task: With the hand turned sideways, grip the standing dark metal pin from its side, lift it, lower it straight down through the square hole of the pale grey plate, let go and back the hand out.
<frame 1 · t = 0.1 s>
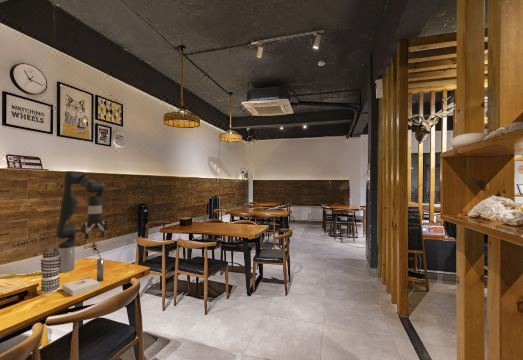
hand: (94, 238, 156), 29 cm above the table, fingers open, 8 cm apart
hole plate: (81, 288, 149), on the table
metal pin: (100, 280, 161), on the table
tiered tower model: (50, 290, 146), on the table
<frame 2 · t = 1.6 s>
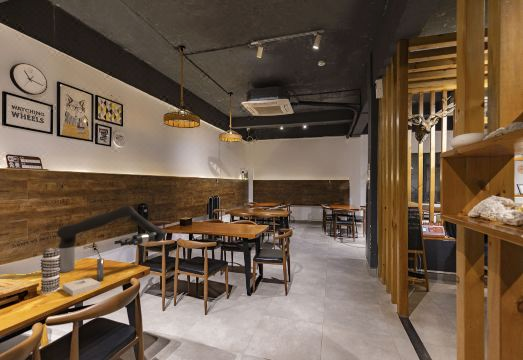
hand: (117, 243, 170), 22 cm above the table, fingers open, 8 cm apart
nothing on the table moved.
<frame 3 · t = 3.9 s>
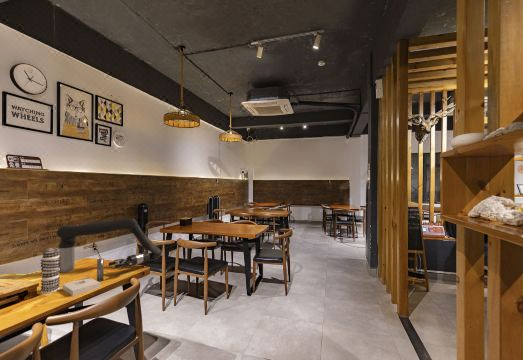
hand: (111, 265, 167), 8 cm above the table, fingers open, 8 cm apart
nothing on the table moved.
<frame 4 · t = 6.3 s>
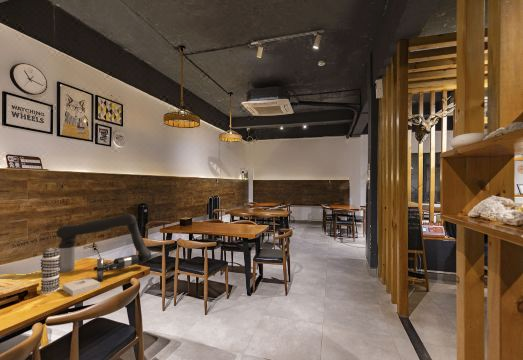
hand: (95, 269, 159), 8 cm above the table, fingers closed on metal pin, 3 cm apart
metal pin: (100, 280, 161), on the table, touching gripper
everything else where it was.
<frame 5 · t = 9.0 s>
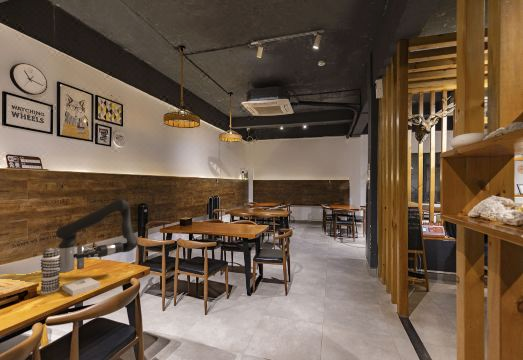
hand: (75, 256, 148), 20 cm above the table, fingers closed on metal pin, 3 cm apart
metal pin: (80, 268, 150), point 12 cm above the table, touching gripper
everything else where it was.
when the fingers open (9 cm above the table, at t = 11.6 s): metal pin drops 1 cm, resting in hole plate.
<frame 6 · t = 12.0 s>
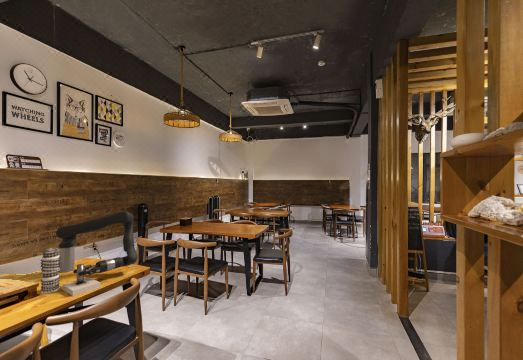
hand: (76, 273, 148), 10 cm above the table, fingers open, 7 cm apart
metal pin: (80, 287, 150), resting in hole plate
everything else where it was.
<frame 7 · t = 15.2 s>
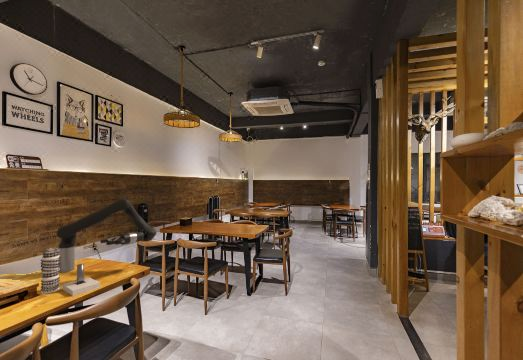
hand: (103, 242, 161), 25 cm above the table, fingers open, 8 cm apart
nothing on the table moved.
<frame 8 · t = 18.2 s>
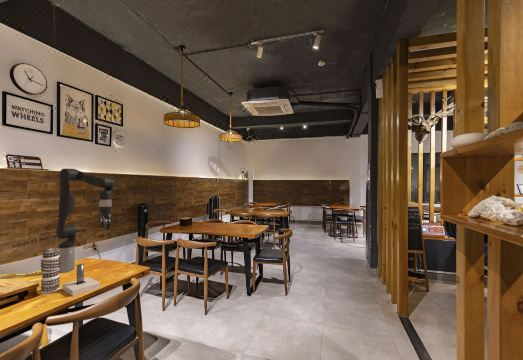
hand: (105, 228, 173), 32 cm above the table, fingers open, 8 cm apart
nothing on the table moved.
at the end: metal pin 0.1 cm from the target spot on the hole plate, point 0.0 cm above the hole plate's base; metal pin tilted 0°; the gripper is holding nothing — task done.
